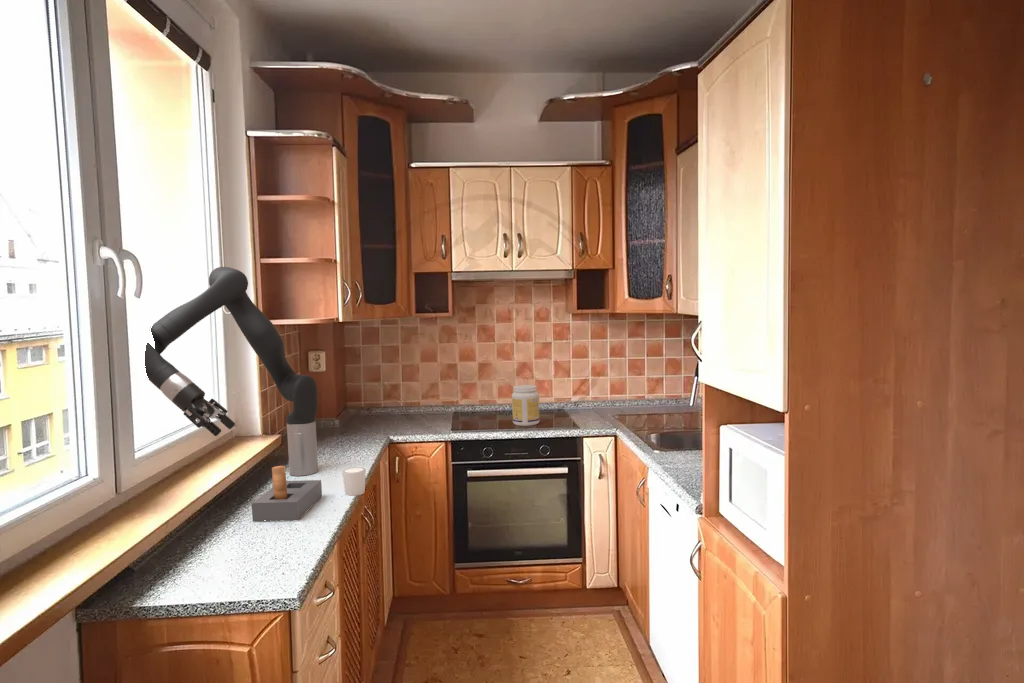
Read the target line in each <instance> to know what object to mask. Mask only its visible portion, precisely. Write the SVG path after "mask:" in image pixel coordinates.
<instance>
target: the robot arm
mask: <svg viewBox="0 0 1024 683" xmlns="http://www.w3.org/2000/svg"><path fill="white" fill-rule="evenodd" d="M208 285H209V287H208V288H206V290H205V291H203V292H202V293H201V294H199V295H198V296H196V297H195V298H193V299H191V300H189V301H187V302H185V303H183V304H182V305H179V306H177V307H176V308H174V309H172V310H171V311H170V312H169V311H168V313H167V314H165V315H163V316H162V317H160V319H158V320H156V322H154V323H153V324H152V325H153V326H152V325H151V326H152V328H151V327H150V328H151V332H152V335H153V338H154V341H155V349H154V348H153V347H152V346H151V345H150V344H149V343H147V345H146V351H145V366H146V367H145V368H146V373H147V376H148V378H149V379H148V378H147V379H148V380H149V382H150V383H151V384H152V385H154V386H155V387H156V388H157V389H158V390H160V391H161V392H162V394H163V395H164V396H165V397H166V398H167V400H169V401H171V403H173V404H174V405H175V406H176V407H178V409H180V410H181V412H183V416H185V418H187V419H188V420H189V421H190V422H191V423H192V424H193V425H194V426H196V428H199V429H200V428H203V429H206V430H207V431H209V432H210V433H211V434H212V435H213V436H215V437H217V436H218V435H220V434H221V432H222V429H221V428H220V427H219V426H217V424H215V423H214V422H213V421H212V420H213V419H216V420H217V421H220V423H221V424H223V425H224V426H225V427H226V428H227V429H229V430H232V429H233V428H234V427H235V426H236V423H235V421H233V420H232V419H231V418H230V417H229V416H228V415H227V414H228V412H229V411H228V410H227V409H226V408H225V407H223V406H222V405H221V404H220V403H219V402H218V401H217V400H215V399H214V398H210V400H209V401H208V400H206V399H205V395H206V393H205V391H204V390H202V388H201V387H199V386H198V385H197V384H196V383H195V382H193V380H192V379H190V378H189V377H188V376H187V375H185V374H184V373H182V372H181V371H179V370H178V369H177V367H175V366H174V365H173V364H171V363H170V362H169V361H168V360H166V359H165V357H163V356H162V355H161V354H162V353H163V352H164V351H165V350H166V348H168V346H169V345H170V344H171V343H173V342H174V341H176V340H177V339H179V338H180V337H181V336H182V335H184V334H185V333H187V332H188V331H189V330H190V329H191V328H192V327H195V325H197V324H198V323H200V322H201V321H203V320H204V319H205V318H206V317H208V316H209V315H211V314H213V313H214V312H215V311H217V310H219V309H220V308H223V307H225V308H226V309H227V310H228V311H229V313H230V314H231V315H232V318H233V319H234V321H235V323H236V324H237V326H238V328H239V330H240V331H241V333H242V335H243V336H244V338H245V339H246V341H247V342H248V344H249V345H250V347H251V348H252V350H253V351H254V352H255V354H256V355H257V356H258V358H259V359H260V362H262V364H263V366H264V367H265V368H266V370H267V372H268V373H269V374H270V376H271V378H272V380H273V382H274V384H275V385H276V386H275V387H276V388H277V390H278V392H279V394H280V395H281V397H282V398H283V399H285V400H286V401H289V402H293V408H292V409H293V410H292V411H291V412H289V413H288V414H286V434H287V451H288V452H287V453H288V469H289V472H288V473H289V475H290V476H296V477H297V476H300V477H301V476H310V475H313V474H316V473H318V471H319V465H318V464H319V463H318V461H319V460H318V443H317V442H318V441H317V424H316V423H317V422H316V416H317V414H318V385H317V382H316V380H315V379H314V377H312V376H310V375H307V374H297V373H296V372H295V370H294V369H293V368H292V367H291V365H290V364H289V362H288V360H287V359H286V354H285V352H286V351H285V344H284V339H283V338H282V336H281V334H280V333H279V331H278V330H277V328H276V326H275V325H274V324H273V322H272V321H271V320H270V319H269V317H267V316H266V314H264V313H263V311H262V310H260V308H258V307H257V305H256V304H255V303H254V302H253V300H252V299H251V298H250V296H249V295H248V293H247V289H248V287H249V280H248V277H247V276H246V275H245V273H244V272H242V271H241V270H239V269H236V268H233V267H229V266H228V267H227V266H218V267H216V268H214V269H212V271H211V272H210V274H209V277H208ZM211 419H212V420H211Z"/></svg>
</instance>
